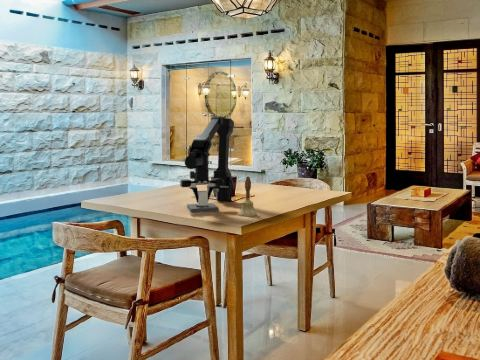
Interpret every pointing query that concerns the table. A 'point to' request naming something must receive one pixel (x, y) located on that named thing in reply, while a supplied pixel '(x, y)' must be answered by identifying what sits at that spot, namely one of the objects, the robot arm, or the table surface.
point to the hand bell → (247, 201)
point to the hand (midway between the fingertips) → (202, 202)
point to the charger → (202, 198)
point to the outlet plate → (202, 208)
